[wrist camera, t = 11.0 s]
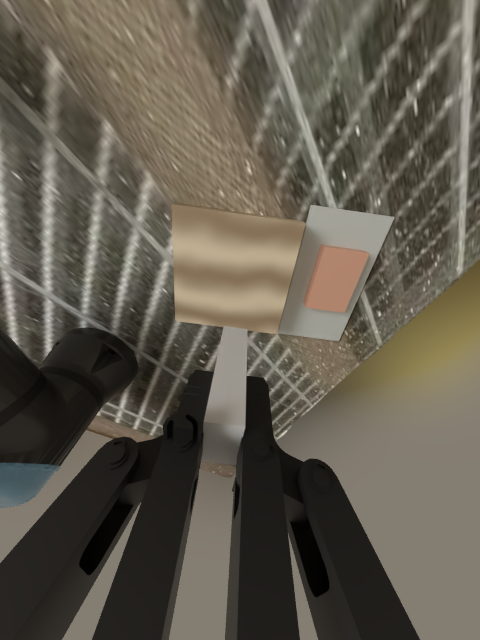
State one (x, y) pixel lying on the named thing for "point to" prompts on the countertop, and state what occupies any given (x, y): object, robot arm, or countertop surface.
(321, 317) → the mat
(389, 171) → the countertop surface
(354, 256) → the pink block
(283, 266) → the board
